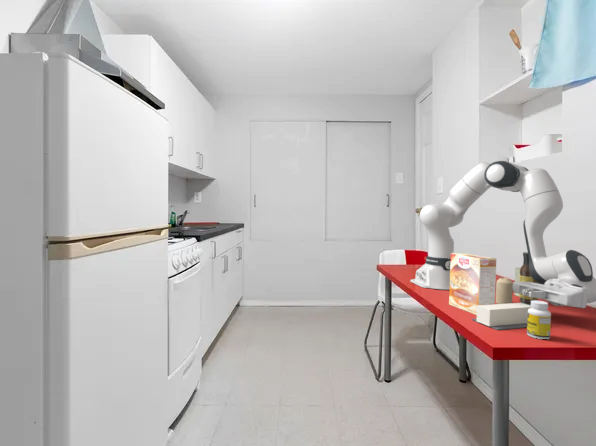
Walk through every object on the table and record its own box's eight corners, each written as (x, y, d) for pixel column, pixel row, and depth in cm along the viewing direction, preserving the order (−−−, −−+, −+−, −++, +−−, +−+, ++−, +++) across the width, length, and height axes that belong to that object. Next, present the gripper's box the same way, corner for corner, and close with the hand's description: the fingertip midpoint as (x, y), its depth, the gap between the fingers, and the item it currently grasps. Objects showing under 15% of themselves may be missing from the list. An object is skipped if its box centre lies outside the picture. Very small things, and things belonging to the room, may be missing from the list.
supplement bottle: (522, 332, 101) (524, 299, 101) (542, 334, 100) (544, 300, 100) (533, 339, 96) (534, 304, 95) (554, 340, 95) (556, 304, 95)
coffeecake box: (448, 304, 132) (449, 253, 131) (464, 303, 134) (465, 252, 133) (477, 316, 117) (479, 258, 117) (495, 315, 119) (497, 257, 119)
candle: (514, 306, 132) (515, 279, 131) (498, 305, 133) (499, 278, 133) (508, 302, 137) (509, 277, 137) (493, 301, 138) (494, 276, 138)
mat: (471, 320, 112) (471, 318, 112) (510, 317, 117) (511, 315, 117) (497, 330, 103) (497, 328, 103) (539, 326, 107) (539, 325, 107)
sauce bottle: (531, 301, 140) (533, 251, 140) (541, 305, 134) (544, 253, 133) (515, 300, 140) (517, 251, 140) (525, 304, 134) (527, 253, 133)
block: (521, 317, 115) (476, 321, 110) (521, 302, 115) (477, 305, 110) (535, 322, 110) (489, 326, 105) (535, 306, 110) (489, 309, 105)
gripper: (530, 276, 126) (499, 277, 122) (592, 289, 106) (558, 290, 102) (529, 294, 126) (499, 295, 122) (591, 309, 106) (557, 312, 103)
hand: (526, 293), depth 112 cm, fingers closed
